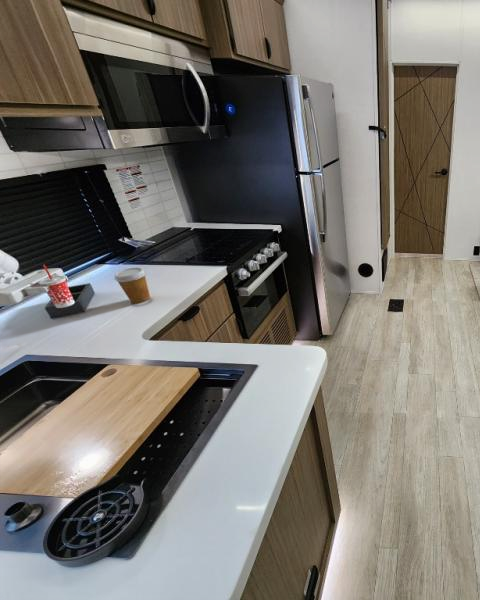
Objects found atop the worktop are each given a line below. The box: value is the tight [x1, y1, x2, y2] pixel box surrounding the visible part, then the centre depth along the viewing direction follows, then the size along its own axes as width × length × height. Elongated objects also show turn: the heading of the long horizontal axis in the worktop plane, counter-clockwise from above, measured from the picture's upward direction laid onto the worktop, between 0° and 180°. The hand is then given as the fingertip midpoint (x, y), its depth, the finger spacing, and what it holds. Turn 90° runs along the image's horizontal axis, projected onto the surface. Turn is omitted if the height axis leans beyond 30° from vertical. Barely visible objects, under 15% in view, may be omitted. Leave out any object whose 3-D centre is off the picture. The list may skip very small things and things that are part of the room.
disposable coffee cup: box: [114, 267, 151, 304], centre depth 128 cm, size 10×10×12 cm
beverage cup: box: [39, 264, 75, 308], centre depth 105 cm, size 6×6×14 cm
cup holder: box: [44, 282, 96, 320], centre depth 127 cm, size 10×18×5 cm, turn 30°
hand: (57, 283), depth 105 cm, fingers closed on beverage cup, 6 cm apart
